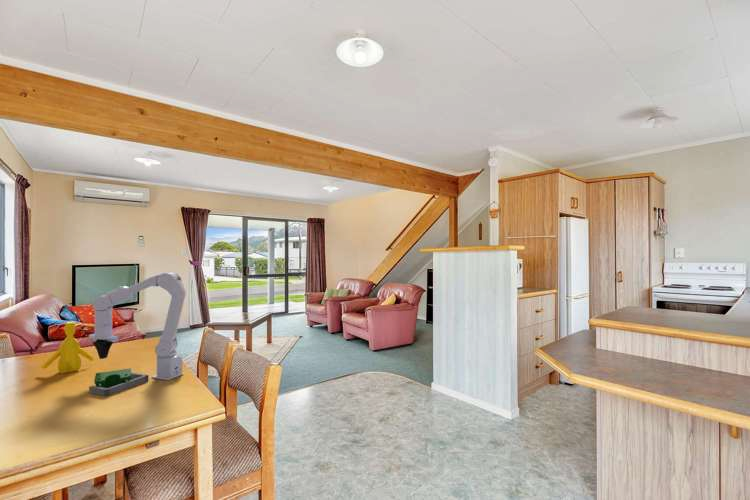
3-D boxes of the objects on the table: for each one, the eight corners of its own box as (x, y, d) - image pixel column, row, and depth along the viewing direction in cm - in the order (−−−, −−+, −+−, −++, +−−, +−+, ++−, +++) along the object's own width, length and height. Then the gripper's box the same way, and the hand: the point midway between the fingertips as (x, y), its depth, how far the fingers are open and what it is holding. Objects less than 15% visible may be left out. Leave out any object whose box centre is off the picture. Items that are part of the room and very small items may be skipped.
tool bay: (148, 381, 143) (148, 374, 143) (106, 396, 127) (106, 389, 127) (132, 378, 146) (132, 372, 146) (89, 393, 130) (89, 386, 130)
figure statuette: (93, 364, 163) (93, 317, 163) (96, 368, 157) (96, 320, 157) (40, 374, 150) (41, 323, 150) (41, 379, 145) (42, 325, 145)
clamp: (101, 401, 133) (88, 384, 130) (102, 392, 138) (90, 375, 134) (136, 385, 138) (124, 367, 135) (136, 376, 143) (125, 359, 139)
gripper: (80, 325, 141) (80, 359, 141) (105, 328, 136) (105, 362, 136) (99, 322, 148) (99, 354, 148) (123, 324, 143) (123, 357, 143)
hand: (103, 358), depth 142 cm, fingers closed
